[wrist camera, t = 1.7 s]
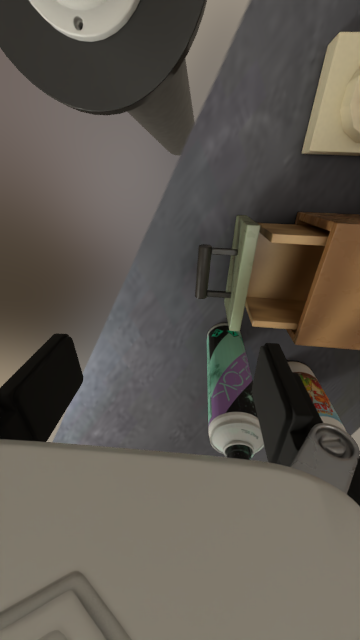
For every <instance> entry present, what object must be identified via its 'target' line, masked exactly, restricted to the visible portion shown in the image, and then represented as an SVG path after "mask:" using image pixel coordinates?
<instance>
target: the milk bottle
mask: <svg viewBox="0 0 360 640" xmlns="http://www.w3.org/2000/svg"><path fill="white" fill-rule="evenodd" d="M288 364H289V366H290V368H291V371H292V372H295V373H298V374H299V376H300V378H301V380H302V382H303V384H304V386H305V388H306V390H307V392H308V394H309V395H310V397H311V399H312V401H313V403H314V405H315V407H316V409H317V411H318V413H319V415H320V417H321V419H322V421H323V423H328V424H332V425H335V426H337V427H339V428H341V429H342V430H344V431H345V432H346V430H345V428H344V426H343V424H342V422H341V421H340V419H339V417H338V415H337V413H336V412H335V410H334V408H333V406H332V405H331V403H330V401H329V399H328V398H327V396H326V394H325V392H324V391H323V389H322V387H321V386H320V384H319V382H318V380H317V379H316V377H315V375H314V374H313V372H312V371H311V369H310V368H309V367H307V366H306V365H304V364H302V363H299V362H288Z"/></svg>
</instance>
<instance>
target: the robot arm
mask: <svg viewBox="0 0 360 640" xmlns="http://www.w3.org/2000/svg"><path fill="white" fill-rule="evenodd" d="M29 1H30V3H31V4H32V6H33V7H34V8H35V9H36V10H37V11H38V12H39V13H40V14H41V16H42V17H43V18H44V19H45V20H46V21H47V22H49V23H50V24H51V25H52V26H53V27H54V28H55V29H56V30H58V31H60V32H61V33H63V34H64V35H66V36H68V37H70V38H73V39H76V40H79V41H87V42H94V41H99V40H103V39H106V38H108V37H110V36H111V35H113V34H115V33H116V32H118V31H119V30H120V29H121V28H122V27H123V26H124V25H125V24H126V23H127V22H128V20H129V19H130V17H131V16H132V14H133V13H134V11H135V10H136V8H137V6H138V4H139V1H140V0H29ZM82 25H83V28H82V29H81V30H80V28H81V26H82ZM82 382H83V374H82V371H81V368H80V364H79V361H78V357H77V354H76V350H75V347H74V343H73V340H72V338H71V337H69V335H67V334H54V335H53V336H52V337H51V338H50V339H49V340H48V341H47V342H46V343H45V344H44V345H43V346H42V347H41V348H40V349H39V350H38V351H37V352H36V353H35V354H34V355H33V356H32V357H31V358H30V359H29V360H28V361H27V362H26V363H25V364H24V365H23V366H22V367H21V368H20V369H19V370H18V371H17V372H16V373H15V374H14V375H13V376H12V377H11V378H10V379H9V380H8V381H7V382H6V383H5V384H4V385H3V386H2V387H1V388H0V640H360V456H359V454H360V451H359V448H358V445H357V443H356V442H355V440H354V439H353V438H352V437H351V436H350V435H349V434H348V433H347V432H345V431H344V430H342V429H341V428H339V427H337V426H335V425H332V424H328V423H323V421H322V419H321V417H320V415H319V413H318V411H317V409H316V407H315V405H314V403H313V401H312V399H311V397H310V395H309V394H308V392H307V390H306V388H305V386H304V384H303V382H302V380H301V378H300V376H299V374H298V373H295V372H292V371H291V368H290V366H289V364H288V362H287V360H286V358H285V356H284V354H283V352H282V349H281V347H280V345H279V344H274V343H266V344H265V345H264V346H261V347H260V352H259V357H258V361H257V366H256V371H255V376H254V381H253V385H252V394H253V399H254V403H255V407H256V412H257V416H258V420H259V425H260V429H261V433H262V437H263V442H264V446H265V450H266V454H267V459H268V462H269V463H268V462H262V461H255V460H246V459H236V458H227V457H218V456H207V455H196V454H184V453H173V452H162V451H150V450H139V449H127V448H115V447H103V446H91V445H78V444H65V443H52V442H46V441H47V440H48V438H49V437H50V435H51V433H52V432H53V430H54V428H55V427H56V425H57V423H58V422H59V420H60V419H61V417H62V415H63V414H64V412H65V410H66V409H67V407H68V406H69V404H70V402H71V401H72V399H73V397H74V396H75V394H76V392H77V391H78V389H79V388H80V386H81V384H82Z"/></svg>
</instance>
